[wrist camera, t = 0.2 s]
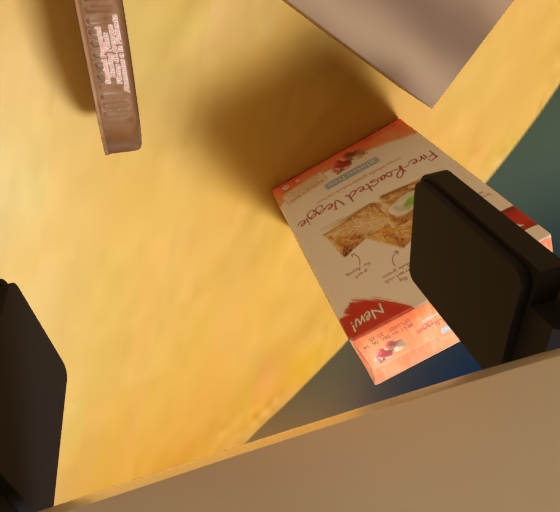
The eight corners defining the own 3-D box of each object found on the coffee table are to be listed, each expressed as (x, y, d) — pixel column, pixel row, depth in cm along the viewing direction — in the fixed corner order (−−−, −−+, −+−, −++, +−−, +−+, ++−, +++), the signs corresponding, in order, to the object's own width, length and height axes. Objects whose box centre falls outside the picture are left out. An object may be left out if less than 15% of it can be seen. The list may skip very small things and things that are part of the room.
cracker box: (397, 112, 45) (558, 231, 28) (412, 163, 48) (562, 294, 32) (266, 186, 45) (350, 344, 29) (291, 231, 49) (378, 392, 33)
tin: (56, -105, 30) (39, -107, 23) (109, -103, 30) (107, -105, 24) (101, 129, 38) (98, 176, 32) (142, 127, 39) (147, 171, 33)
